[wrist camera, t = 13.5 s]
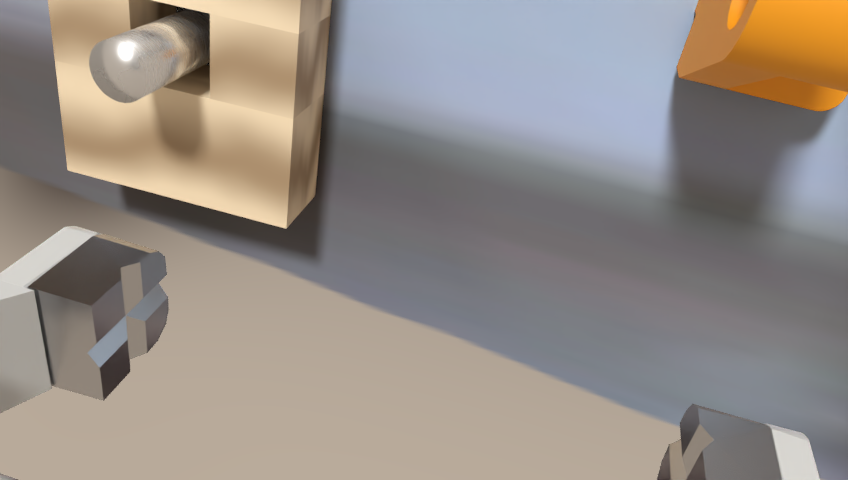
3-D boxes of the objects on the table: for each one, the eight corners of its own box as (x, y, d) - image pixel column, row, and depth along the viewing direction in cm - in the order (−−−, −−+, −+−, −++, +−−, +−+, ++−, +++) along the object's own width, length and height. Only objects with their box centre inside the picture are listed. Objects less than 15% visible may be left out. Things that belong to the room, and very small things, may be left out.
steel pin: (188, -3, 41) (86, 32, 33) (237, 8, 40) (146, 47, 32) (188, 49, 42) (91, 94, 34) (235, 60, 42) (148, 109, 34)
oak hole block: (88, -172, 37) (27, -173, 34) (342, -122, 36) (308, -117, 32) (113, 143, 47) (67, 170, 43) (315, 195, 45) (286, 228, 41)
